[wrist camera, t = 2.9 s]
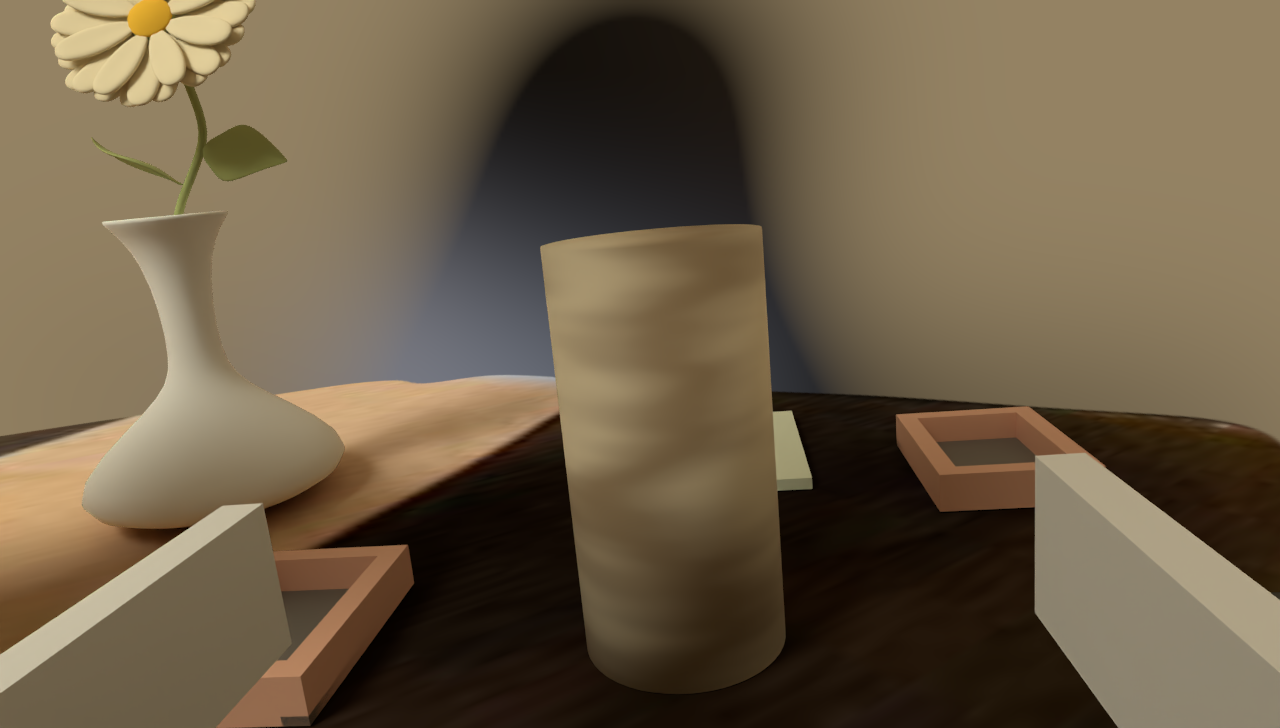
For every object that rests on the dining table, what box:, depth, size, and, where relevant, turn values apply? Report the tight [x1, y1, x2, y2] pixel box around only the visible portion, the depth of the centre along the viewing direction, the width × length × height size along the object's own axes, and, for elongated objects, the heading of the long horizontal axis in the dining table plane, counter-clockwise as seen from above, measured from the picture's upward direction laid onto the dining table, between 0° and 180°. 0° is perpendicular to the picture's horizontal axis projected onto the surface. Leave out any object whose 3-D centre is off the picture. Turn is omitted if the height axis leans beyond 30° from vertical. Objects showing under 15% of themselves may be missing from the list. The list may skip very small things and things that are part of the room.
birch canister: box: [540, 224, 786, 694], centre depth 24 cm, size 6×6×12 cm
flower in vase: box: [51, 0, 345, 529], centre depth 38 cm, size 13×11×25 cm
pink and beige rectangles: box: [216, 406, 1106, 728], centre depth 34 cm, size 32×25×2 cm
